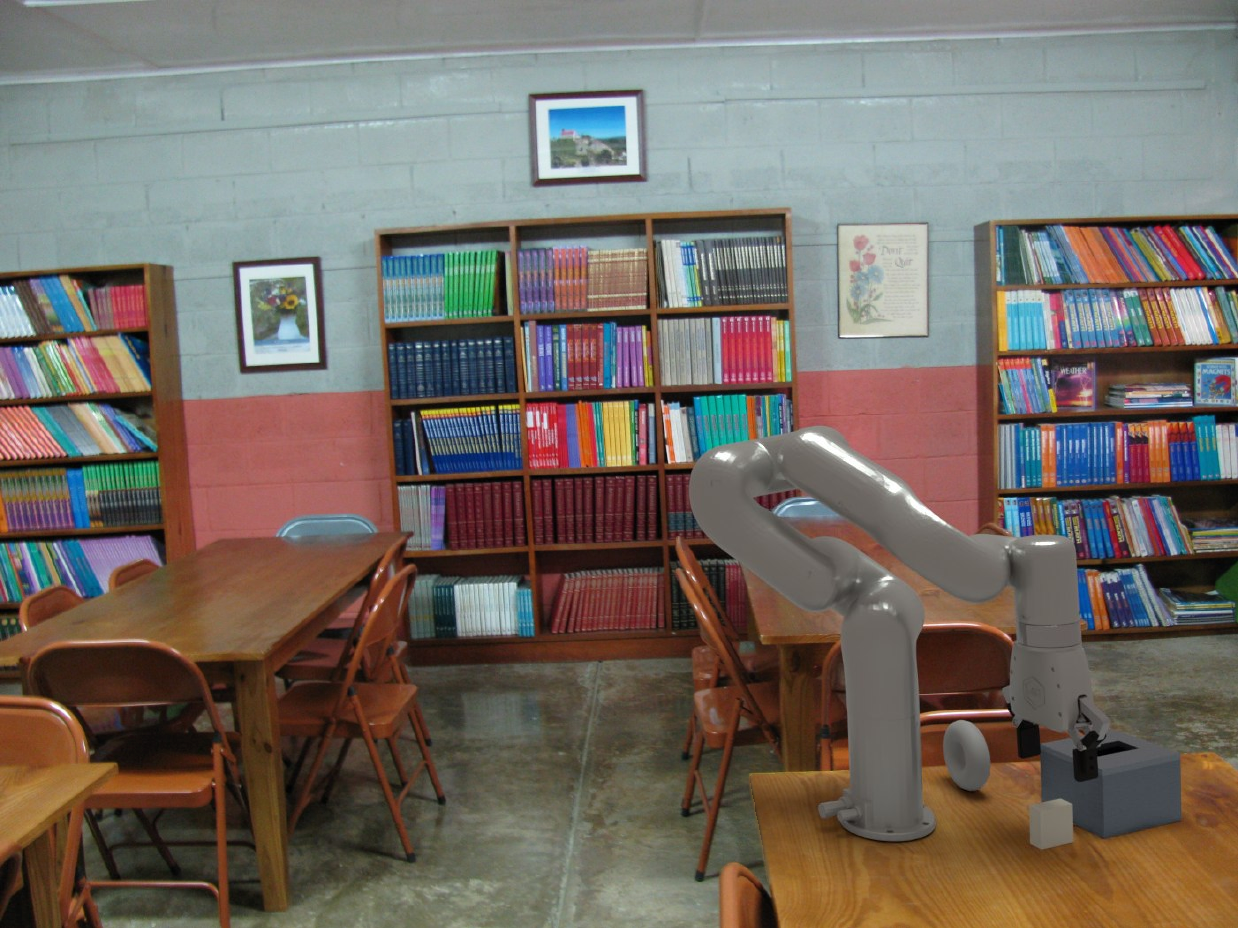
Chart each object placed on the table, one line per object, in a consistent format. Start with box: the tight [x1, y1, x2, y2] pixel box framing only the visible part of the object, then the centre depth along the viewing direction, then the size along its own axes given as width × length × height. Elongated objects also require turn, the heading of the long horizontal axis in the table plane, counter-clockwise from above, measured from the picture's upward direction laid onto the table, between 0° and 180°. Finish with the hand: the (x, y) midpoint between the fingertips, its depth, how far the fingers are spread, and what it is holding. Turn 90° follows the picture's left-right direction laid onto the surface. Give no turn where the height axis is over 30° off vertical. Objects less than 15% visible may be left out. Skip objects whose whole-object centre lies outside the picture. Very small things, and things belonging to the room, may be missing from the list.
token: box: [1028, 798, 1074, 850], centre depth 129 cm, size 5×2×5 cm, turn 109°
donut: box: [942, 719, 991, 792], centre depth 147 cm, size 10×4×10 cm, turn 10°
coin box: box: [1039, 729, 1183, 840], centre depth 136 cm, size 13×11×9 cm
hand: (1057, 767), depth 128 cm, fingers open, 9 cm apart
